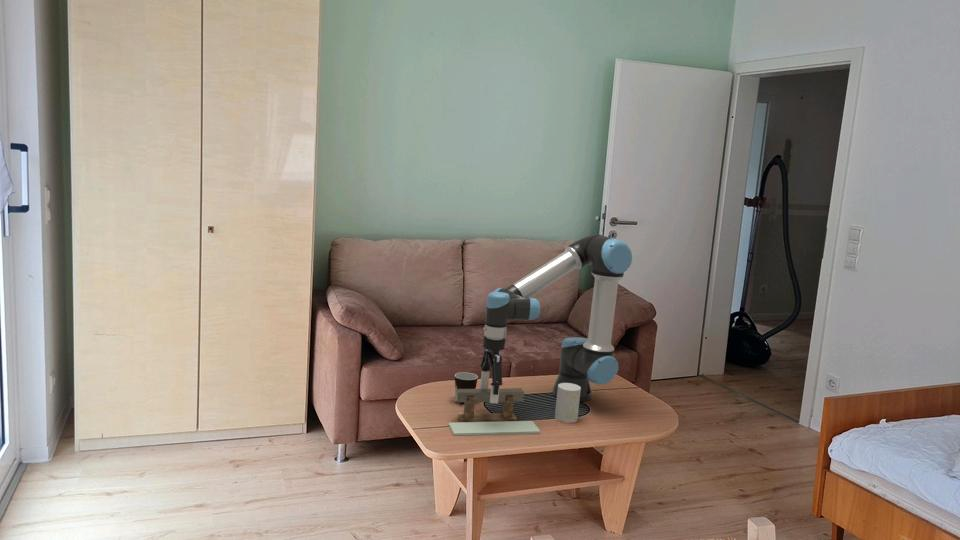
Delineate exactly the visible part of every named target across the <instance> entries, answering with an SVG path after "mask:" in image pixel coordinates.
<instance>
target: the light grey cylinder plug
mask: <svg viewBox="0 0 960 540" xmlns="http://www.w3.org/2000/svg"><path fill="white" fill-rule="evenodd" d="M580 391H581V387H580V386H578V385H576V384H572V383H560V384H558V390H557V397H556V401H555V402H556V403H555V410H554V411H555V412H554V419H555V420H556V419H557V421H558V420H559V421H558V422H560V421H562V422H561V423H565V422H568V424H571V423H570V422H574V423H576V422H577V421H578V418H579V417H578V416H579V406H580V402H579V401H580Z"/></svg>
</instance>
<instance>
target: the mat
mask: <svg viewBox="0 0 960 540" xmlns="http://www.w3.org/2000/svg"><path fill="white" fill-rule="evenodd" d="M447 425H448V427H449V429H450V431H451V433H452V435H453V437H455V436H456V437H457V436H458V437H459V436H464V437H465V436H493V435H494V436H495V434H496V436H497V434H499V435H500V434H502V435H530V434H531V435H532V434H533V435H535V434H536V435H537V434H541V432H542V431H541V430H540V428H539V427H538V426H537V424H535V422H534V421H533V420H517V421H498V422H461V421H460V422H448V424H447ZM499 435H498V436H499Z"/></svg>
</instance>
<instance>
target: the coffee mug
mask: <svg viewBox="0 0 960 540" xmlns="http://www.w3.org/2000/svg"><path fill="white" fill-rule="evenodd" d="M478 379H479V376H478V375H477V374H475V373H472V372H466V371H460V372H457V373H455V374H454V387H455V388H454V389H477V384H478ZM455 402H456V401H455ZM456 404H458V405H463V406H464V402H456Z"/></svg>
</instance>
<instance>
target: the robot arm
mask: <svg viewBox="0 0 960 540" xmlns="http://www.w3.org/2000/svg"><path fill="white" fill-rule="evenodd" d="M632 262H633V254H632V250H631V248H630V247H629V245H628V244H627V243H626V242H625V241H622V240H621V239H618V238H614V237H610V236H606V235H602V234H589V235H587V236H583V237H582V238H580V239H577V240H576V241H574V242H572V243H571V244H569V245H567V246H566V247H565V248H564V252H561V253H560V254H558V255H557V256H554V258H552V259H550V260H549V261H547V262H545V264H543V265H541V266H539V267H538V268H536V269H534V270H533V271H531V272H529V273H528V274H527V275H525V276H524V277H521V278H520V279H519V280H517V281H515V282H514V283H513V284H510V285H509V286H508V287H506V288H505V287H498V288H496V289H495V290H494V291H491V292H489V293H488V295H487V299H486V304H485V305H486V308H485V309H486V310H485V320H484V327H483V328H482V329H483V333H484V336H483V340H482V341H483V342H482V347H483V348H484V351H483V353H482V358H481V360H480V361H481V362H480V366H479V367H480V368H481V376H480V387H479V389H489V382H490V381H489V380H490V372H491V381H492V382H491V383H490V389H491V395H490V402H489V403H490V404H499V402H498V398H499V389H501V388H500V387H501V386H503V373H502V372H503V371H502V370H503V367H502V366H503V365H502V362H503V356H502V355H500V353H499V352H500V351H503V350H505V347H506V346H505V345H506V337H507V328H508V327H507V326H508V321H529V320H536V319H538V318H539V317H540V314H541V304H540V301H539V300H538V299H537V298H534V295H536V294H538V293H539V292H541V291H543V290H544V289H546V288H547V287H548V286H550V285H552V284H553V283H555V282H557V281H558V280H560V279H561V278H563V277H564V276H566V275H568V274H569V273H570V272H572V271H574V270H581V269H583V268H584V267H586V266H591V275H592V276H593V277H594V282H593V285H594V286H593V293H592V298H591V299H592V301H591V307H590V308H591V309H590V315H589V316H590V317H589V327H588V335H587V337H575V336H573V337H566V338H564V339H563V340H562V343H561V347H560V349H561V351H560V361H559V369H558V371H559V372H558V375H557V377H556V380H555V382H554V384H553V387H552V395H553V396H555V397H556V398H557V390H558V384H560V383H572V384H576V385H578V386H580V387H581V391H580V401H579V403H581V402H587V401H590V399H591V398H592V388H591V384H590V382H591V383H594V384H596V385H599V386H600V385H606V384H609V383H610V382H611V381H612V380H613V379H614V378H615V377H616V376H617V374H618V371H619V362H618V360H617V359H616V358H615V357H614V355H615V347H614V345H613V344H612V337H613V328H614V321H615V313H616V304H617V303H616V302H617V295H618V288H619V281H620V280H621V279H623V278H624V273H625V272H627V271H628V269H629V268H630V267H631V266H632ZM531 297H532V298H531Z"/></svg>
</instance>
